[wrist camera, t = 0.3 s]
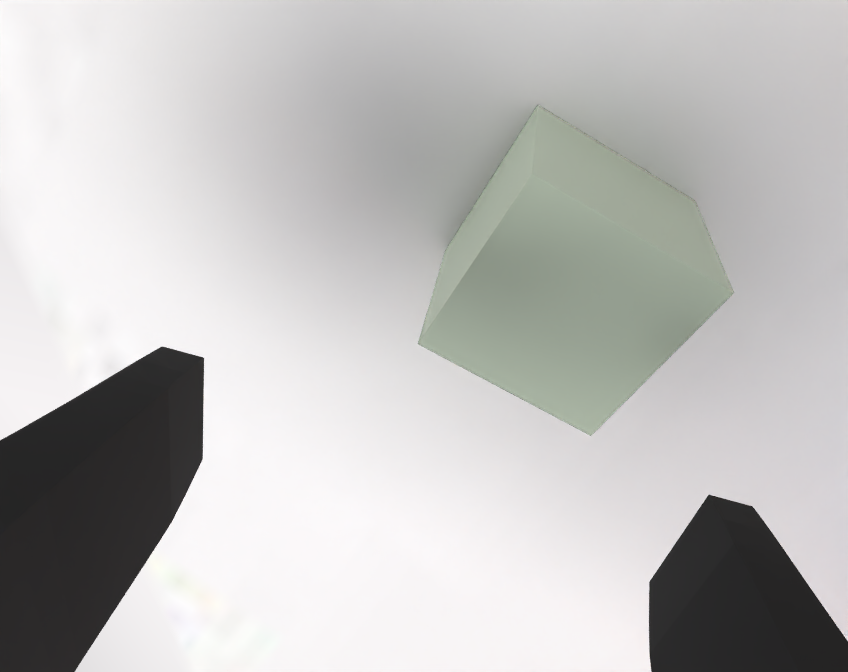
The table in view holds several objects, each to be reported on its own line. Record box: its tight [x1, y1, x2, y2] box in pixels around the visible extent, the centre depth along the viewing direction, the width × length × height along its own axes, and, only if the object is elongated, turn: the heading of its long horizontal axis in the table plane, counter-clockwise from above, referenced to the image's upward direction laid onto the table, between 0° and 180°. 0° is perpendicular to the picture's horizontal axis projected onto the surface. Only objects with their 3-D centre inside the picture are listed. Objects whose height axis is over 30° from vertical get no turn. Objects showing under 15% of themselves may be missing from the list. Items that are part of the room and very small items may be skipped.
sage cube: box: [418, 105, 734, 436], centre depth 15 cm, size 4×4×4 cm
